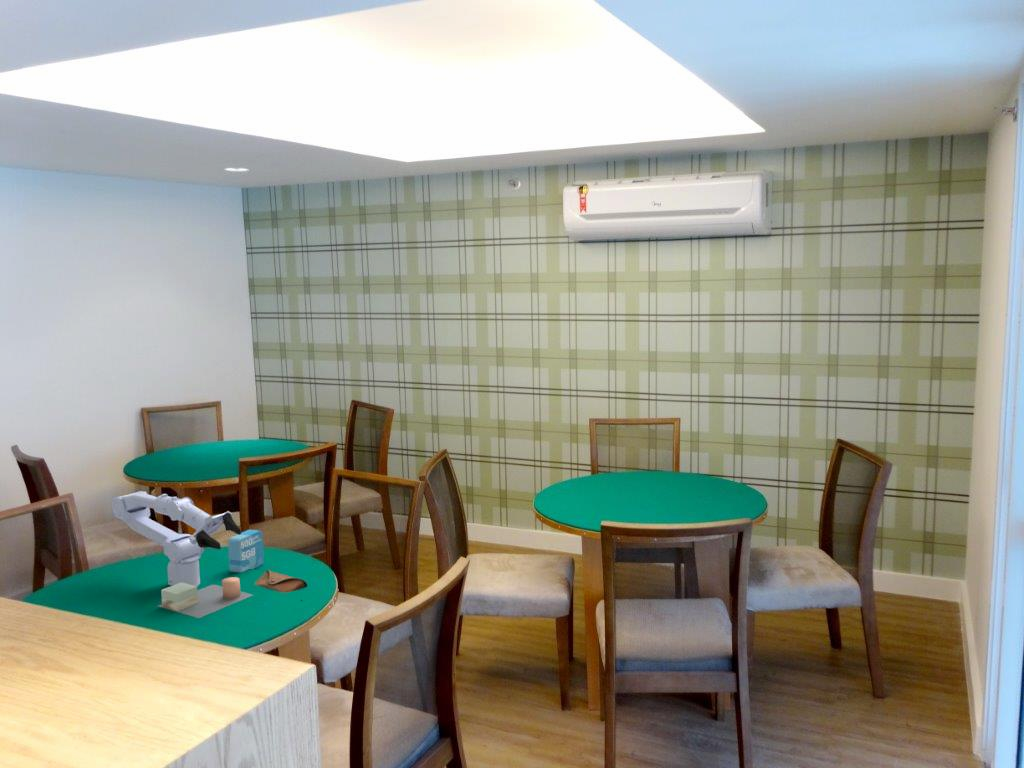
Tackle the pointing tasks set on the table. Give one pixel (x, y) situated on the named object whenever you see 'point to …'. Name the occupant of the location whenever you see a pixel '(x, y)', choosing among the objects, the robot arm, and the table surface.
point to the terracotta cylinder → (231, 588)
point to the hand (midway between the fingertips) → (229, 539)
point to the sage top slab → (179, 592)
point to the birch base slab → (180, 603)
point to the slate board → (210, 601)
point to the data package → (246, 551)
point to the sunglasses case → (280, 582)
